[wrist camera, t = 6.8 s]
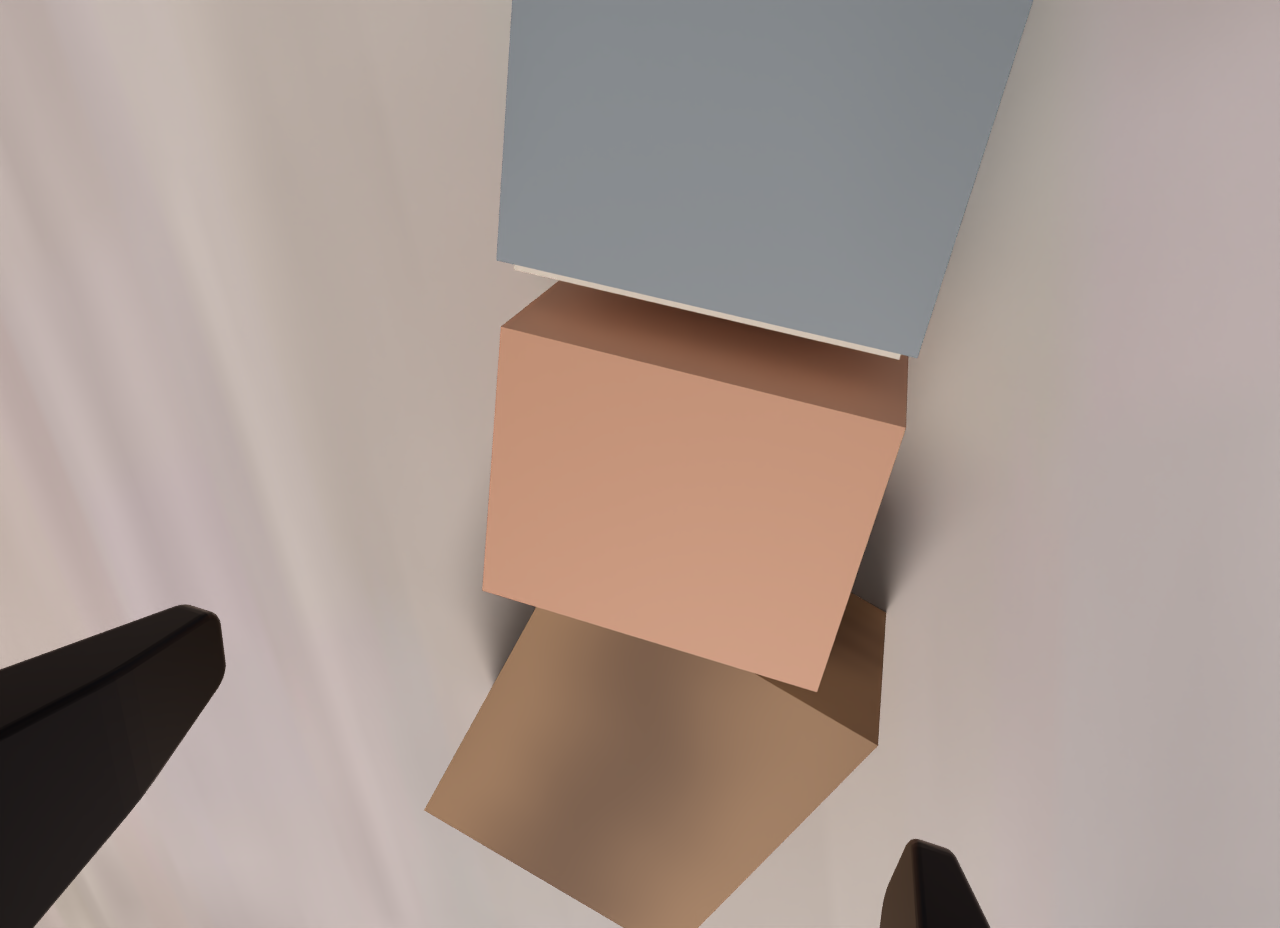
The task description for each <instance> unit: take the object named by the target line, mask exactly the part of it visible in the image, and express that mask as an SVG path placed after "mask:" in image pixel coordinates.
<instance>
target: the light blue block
mask: <svg viewBox="0 0 1280 928" xmlns="http://www.w3.org/2000/svg"><path fill="white" fill-rule="evenodd" d="M1032 2H1033V0H512V13H511V30H510V46H509V63H508V79H507V95H506V112H505V128H504V145H503V161H502V178H501V194H500V210H499V227H498V243H497V261H502V262H506V263H510V264H515V265H514V270H517V271H522V272H526V273H530V274H534V275H539V276H543V277H547V278H552V279H556V280H560V281H564V282H569V283H573V284H577V285H582V286H586V287H590V288H594V289H599V290H603V291H607V292H611V293H616V294H620V295H624V296H629V297H633V298H637V299H641V300H646V301H650V302H654V303H659V304H663V305H667V306H671V307H676V308H680V309H684V310H688V311H693V312H697V313H701V314H706V315H710V316H714V317H718V318H723V319H727V320H731V321H736V322H740V323H744V324H748V325H753V326H757V327H761V328H765V329H770V330H774V331H778V332H783V333H787V334H791V335H795V336H800V337H804V338H808V339H813V340H817V341H821V342H825V343H830V344H834V345H838V346H842V347H847V348H851V349H855V350H860V351H864V352H868V353H872V354H877V355H881V356H885V357H889V358H894V359H898V360H899V359H900V356H901V355H906V356H910V357H914V358H918V355H919V352H920V349H921V345H922V342H923V339H924V336H925V333H926V330H927V327H928V324H929V321H930V318H931V315H932V311H933V308H934V305H935V302H936V299H937V296H938V293H939V290H940V287H941V284H942V281H943V277H944V274H945V271H946V268H947V265H948V262H949V259H950V256H951V253H952V250H953V247H954V243H955V240H956V237H957V234H958V231H959V228H960V225H961V222H962V219H963V216H964V213H965V209H966V206H967V203H968V200H969V197H970V194H971V191H972V188H973V185H974V182H975V179H976V175H977V172H978V169H979V166H980V163H981V160H982V157H983V154H984V151H985V148H986V145H987V141H988V138H989V135H990V132H991V129H992V126H993V123H994V120H995V117H996V114H997V111H998V107H999V104H1000V101H1001V98H1002V95H1003V92H1004V89H1005V86H1006V83H1007V80H1008V77H1009V73H1010V70H1011V67H1012V64H1013V61H1014V58H1015V55H1016V52H1017V49H1018V46H1019V43H1020V39H1021V36H1022V33H1023V30H1024V27H1025V24H1026V21H1027V18H1028V15H1029V12H1030V9H1031V5H1032Z"/></svg>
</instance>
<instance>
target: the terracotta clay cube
mask: <svg viewBox="0 0 1280 928" xmlns="http://www.w3.org/2000/svg"><path fill="white" fill-rule="evenodd" d="M907 378H908V356H906V355H901V356H900V359H899V360H898V359H894V358H889V357H885V356H881V355H877V354H872V353H868V352H864V351H860V350H855V349H851V348H847V347H842V346H838V345H834V344H830V343H825V342H821V341H817V340H813V339H808V338H804V337H800V336H795V335H791V334H787V333H783V332H778V331H774V330H770V329H765V328H761V327H757V326H753V325H748V324H744V323H740V322H736V321H731V320H727V319H723V318H718V317H714V316H710V315H706V314H701V313H697V312H693V311H688V310H684V309H680V308H676V307H671V306H667V305H663V304H659V303H654V302H650V301H646V300H641V299H637V298H633V297H629V296H624V295H620V294H616V293H611V292H607V291H603V290H599V289H594V288H590V287H586V286H582V285H577V284H573V283H569V282H564V281H560V280H559V281H558V282H557V283H555V284H554V285H553V286H552V287H550V288H549V289H548V290H547V291H545V292H544V293H543V294H542V295H540V296H539V297H538V298H537V299H535V300H534V301H533V302H531V303H530V304H529V305H528V306H526V307H525V308H524V309H523V310H521V311H520V312H519V313H518V314H516V315H515V316H514V317H513V318H511V319H510V320H509V321H507V322H506V323H505V324H504V325H502V326H501V333H500V347H499V361H498V375H497V390H496V404H495V418H494V432H493V446H492V460H491V475H490V489H489V503H488V517H487V531H486V546H485V560H484V574H483V588H482V591H486V592H489V593H492V594H496V595H499V596H502V597H505V598H509V599H512V600H515V601H519V602H522V603H525V604H528V605H532V606H535V607H538V608H542V609H545V610H548V611H551V612H555V613H558V614H561V615H565V616H568V617H571V618H574V619H578V620H581V621H584V622H588V623H591V624H594V625H598V626H601V627H604V628H607V629H611V630H614V631H617V632H621V633H624V634H627V635H630V636H634V637H637V638H640V639H644V640H647V641H650V642H653V643H657V644H660V645H663V646H667V647H670V648H673V649H676V650H680V651H683V652H686V653H690V654H693V655H696V656H699V657H703V658H706V659H709V660H713V661H716V662H719V663H722V664H726V665H729V666H732V667H736V668H739V669H742V670H746V671H749V672H752V673H755V674H759V675H762V676H765V677H769V678H772V679H775V680H778V681H782V682H785V683H788V684H792V685H795V686H798V687H801V688H805V689H808V690H811V691H815V692H817V691H818V688H819V685H820V682H821V679H822V676H823V673H824V670H825V667H826V664H827V661H828V658H829V655H830V652H831V649H832V646H833V643H834V640H835V637H836V634H837V631H838V628H839V625H840V622H841V619H842V616H843V613H844V610H845V607H846V605H847V602H848V599H849V596H850V593H851V590H852V587H853V584H854V581H855V578H856V575H857V572H858V569H859V566H860V563H861V560H862V557H863V554H864V551H865V548H866V545H867V542H868V539H869V536H870V533H871V530H872V527H873V524H874V521H875V518H876V515H877V512H878V509H879V507H880V504H881V501H882V498H883V495H884V492H885V489H886V486H887V483H888V480H889V477H890V474H891V471H892V468H893V465H894V462H895V459H896V456H897V453H898V450H899V447H900V444H901V441H902V438H903V435H904V432H905V429H906V411H907Z"/></svg>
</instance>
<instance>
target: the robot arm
mask: <svg viewBox="0 0 1280 928" xmlns="http://www.w3.org/2000/svg"><path fill="white" fill-rule="evenodd" d="M225 667H226V662H225V654H224V646H223V638H222V630H221V623H220V620H219V618H218V617H217V615H216V614H214V613H213V612H210V611H207V610H204V609H201V608H198V607H195V606H191V605H178V606H175V607H172V608H169V609H166V610H163V611H161V612H158V613H155V614H152V615H150V616H147V617H144V618H141V619H139V620H136V621H133V622H130V623H128V624H125V625H122V626H119V627H116V628H114V629H111V630H108V631H105V632H103V633H100V634H97V635H94V636H92V637H89V638H86V639H83V640H81V641H78V642H75V643H72V644H70V645H67V646H64V647H61V648H58V649H56V650H53V651H50V652H47V653H45V654H42V655H39V656H36V657H34V658H31V659H28V660H25V661H23V662H20V663H17V664H14V665H12V666H9V667H6V668H3V669H0V928H34V926H35V925H36V924H37V923H38V922H39V920H40V919H41V918H42V917H43V916H44V914H45V913H46V912H47V911H48V910H49V908H50V907H51V906H52V905H53V904H54V903H55V901H56V900H57V899H58V898H59V897H60V895H61V894H62V893H63V892H64V891H65V889H66V888H67V887H68V886H69V885H70V883H71V882H72V881H73V880H74V879H75V877H76V876H77V875H78V874H79V873H80V872H81V870H82V869H83V868H84V867H85V866H86V864H87V863H88V862H89V861H90V860H91V858H92V857H93V856H94V855H95V854H96V852H97V851H98V850H99V849H100V848H101V847H102V845H103V844H104V843H105V842H106V841H107V839H108V838H109V837H110V836H111V835H112V833H113V832H114V831H115V830H116V829H117V827H118V826H119V825H120V824H121V823H122V821H123V820H124V819H125V818H126V817H127V815H128V814H129V813H130V812H131V810H132V809H133V808H134V807H135V805H136V804H137V803H138V802H139V800H140V799H141V798H142V797H143V795H144V794H145V793H146V791H147V790H148V788H149V787H150V786H151V784H152V783H153V782H154V780H155V779H156V777H157V776H158V774H159V773H160V772H161V770H162V769H163V767H164V766H165V764H166V763H167V761H168V760H169V758H170V757H171V756H172V754H173V753H174V751H175V750H176V748H177V747H178V745H179V744H180V742H181V741H182V740H183V738H184V737H185V735H186V734H187V732H188V731H189V729H190V728H191V726H192V725H193V724H194V722H195V721H196V719H197V718H198V716H199V715H200V713H201V712H202V710H203V709H204V708H205V706H206V705H207V703H208V702H209V700H210V699H211V697H212V696H213V694H214V693H215V692H216V690H217V689H218V687H219V685H220V684H221V681H222V679H223V676H224V673H225ZM880 928H990V926H989V924H988V922H987V920H986V918H985V916H984V914H983V912H982V910H981V908H980V905H979V903H978V901H977V899H976V897H975V895H974V893H973V891H972V889H971V887H970V885H969V883H968V881H967V879H966V877H965V875H964V873H963V871H962V869H961V867H960V864H959V862H958V860H957V858H956V857H955V855H954V854H953V853H952V852H951V851H950V850H949V849H947V848H944V847H941V846H938V845H935V844H932V843H929V842H926V841H922V840H919V839H912V840H910V841H909V843H908V844H907V845H906V847H905V849H904V851H903V853H902V856H901V858H900V860H899V862H898V864H897V867H896V869H895V871H894V873H893V876H892V878H891V880H890V882H889V884H888V887H887V890H886V893H885V897H884V901H883V907H882V914H881V922H880Z"/></svg>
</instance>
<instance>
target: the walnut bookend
mask: <svg viewBox="0 0 1280 928" xmlns="http://www.w3.org/2000/svg"><path fill="white" fill-rule="evenodd" d="M885 623H886V612H884V611H882V610H881V609H879V608H877V607H875V606H874V605H872V604H870V603H868V602H867V601H865V600H863V599H862V598H860V597H858V596H856V595H855V594H853V593H850V596H849V599H848V602H847V605H846V607H845V610H844V613H843V616H842V619H841V622H840V625H839V628H838V631H837V634H836V637H835V640H834V643H833V646H832V649H831V652H830V655H829V658H828V661H827V664H826V667H825V670H824V673H823V676H822V679H821V682H820V685H819V688H818V691H817V692H815V691H811V690H808V689H805V688H801V687H798V686H795V685H792V684H788V683H785V682H782V681H778V680H775V679H772V678H769V677H765V676H762V675H759V674H755V673H752V672H749V671H746V670H742V669H739V668H736V667H732V666H729V665H726V664H722V663H719V662H716V661H713V660H709V659H706V658H703V657H699V656H696V655H693V654H690V653H686V652H683V651H680V650H676V649H673V648H670V647H667V646H663V645H660V644H657V643H653V642H650V641H647V640H644V639H640V638H637V637H634V636H630V635H627V634H624V633H621V632H617V631H614V630H611V629H607V628H604V627H601V626H598V625H594V624H591V623H588V622H584V621H581V620H578V619H574V618H571V617H568V616H565V615H561V614H558V613H555V612H551V611H548V610H545V609H542V608H538V607H536V608H535V610H534V612H533V614H532V616H531V617H530V619H529V621H528V623H527V625H526V626H525V628H524V630H523V632H522V634H521V636H520V637H519V639H518V641H517V643H516V645H515V646H514V648H513V650H512V652H511V654H510V655H509V657H508V659H507V661H506V663H505V665H504V666H503V668H502V670H501V672H500V674H499V675H498V677H497V679H496V681H495V683H494V684H493V686H492V688H491V690H490V692H489V694H488V695H487V697H486V699H485V701H484V703H483V704H482V706H481V708H480V710H479V712H478V714H477V715H476V717H475V719H474V721H473V723H472V724H471V726H470V728H469V730H468V732H467V733H466V735H465V737H464V739H463V741H462V743H461V744H460V746H459V748H458V750H457V752H456V753H455V755H454V757H453V759H452V761H451V762H450V764H449V766H448V768H447V770H446V772H445V773H444V775H443V777H442V779H441V781H440V782H439V784H438V786H437V788H436V790H435V791H434V793H433V795H432V797H431V799H430V801H429V802H428V804H427V806H426V808H425V811H426V812H428V813H430V814H432V815H433V816H435V817H437V818H438V819H440V820H442V821H443V822H445V823H447V824H448V825H450V826H452V827H454V828H455V829H457V830H459V831H460V832H462V833H464V834H465V835H467V836H469V837H471V838H472V839H474V840H476V841H477V842H479V843H481V844H482V845H484V846H486V847H488V848H489V849H491V850H493V851H494V852H496V853H498V854H499V855H501V856H503V857H505V858H506V859H508V860H510V861H511V862H513V863H515V864H516V865H518V866H520V867H521V868H523V869H525V870H527V871H528V872H530V873H532V874H533V875H535V876H537V877H538V878H540V879H542V880H544V881H545V882H547V883H549V884H550V885H552V886H554V887H555V888H557V889H559V890H561V891H562V892H564V893H566V894H567V895H569V896H571V897H572V898H574V899H576V900H578V901H579V902H581V903H583V904H584V905H586V906H588V907H589V908H591V909H593V910H595V911H596V912H598V913H600V914H601V915H603V916H605V917H606V918H608V919H610V920H611V921H613V922H615V923H617V924H618V925H620V926H622V927H623V928H698V927H699V926H700V925H701V924H702V923H703V922H704V921H705V920H706V919H707V918H708V917H709V916H710V915H711V914H712V913H713V912H714V911H715V910H716V909H717V908H718V907H719V906H720V905H721V904H722V903H723V902H724V901H725V900H726V899H727V898H728V897H729V896H730V895H731V894H732V893H733V892H734V891H735V890H736V889H737V888H738V887H739V886H740V885H741V884H742V883H743V882H744V881H745V880H746V879H747V878H748V877H749V876H750V874H751V873H752V872H753V871H754V870H755V869H756V868H757V867H758V866H759V865H760V864H761V863H762V862H763V861H764V860H765V859H766V858H767V857H768V856H769V855H770V854H771V853H772V852H773V851H774V850H775V849H776V848H777V847H778V846H779V845H780V844H781V843H782V842H783V841H784V840H785V839H786V838H787V837H788V836H789V835H790V834H791V833H792V832H793V831H794V830H795V829H796V828H797V827H798V826H799V825H800V824H801V823H802V822H803V821H804V820H805V819H806V818H807V817H808V816H809V815H810V814H811V813H812V812H813V811H814V810H815V809H816V808H817V807H818V806H819V805H820V804H821V803H822V802H823V801H824V800H825V799H826V798H827V797H828V796H829V795H830V794H831V793H832V792H833V791H834V790H835V789H836V788H837V787H838V786H839V784H840V783H841V782H842V781H843V780H844V779H845V778H846V777H847V776H848V775H849V774H850V773H851V772H852V771H853V770H854V769H855V768H856V767H857V766H858V765H859V764H860V763H861V762H862V761H863V760H864V759H865V758H866V757H867V756H868V755H869V754H870V753H871V752H872V751H873V750H874V749H875V748H876V747H877V746H878V736H879V719H880V703H881V687H882V671H883V655H884V639H885Z"/></svg>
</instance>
